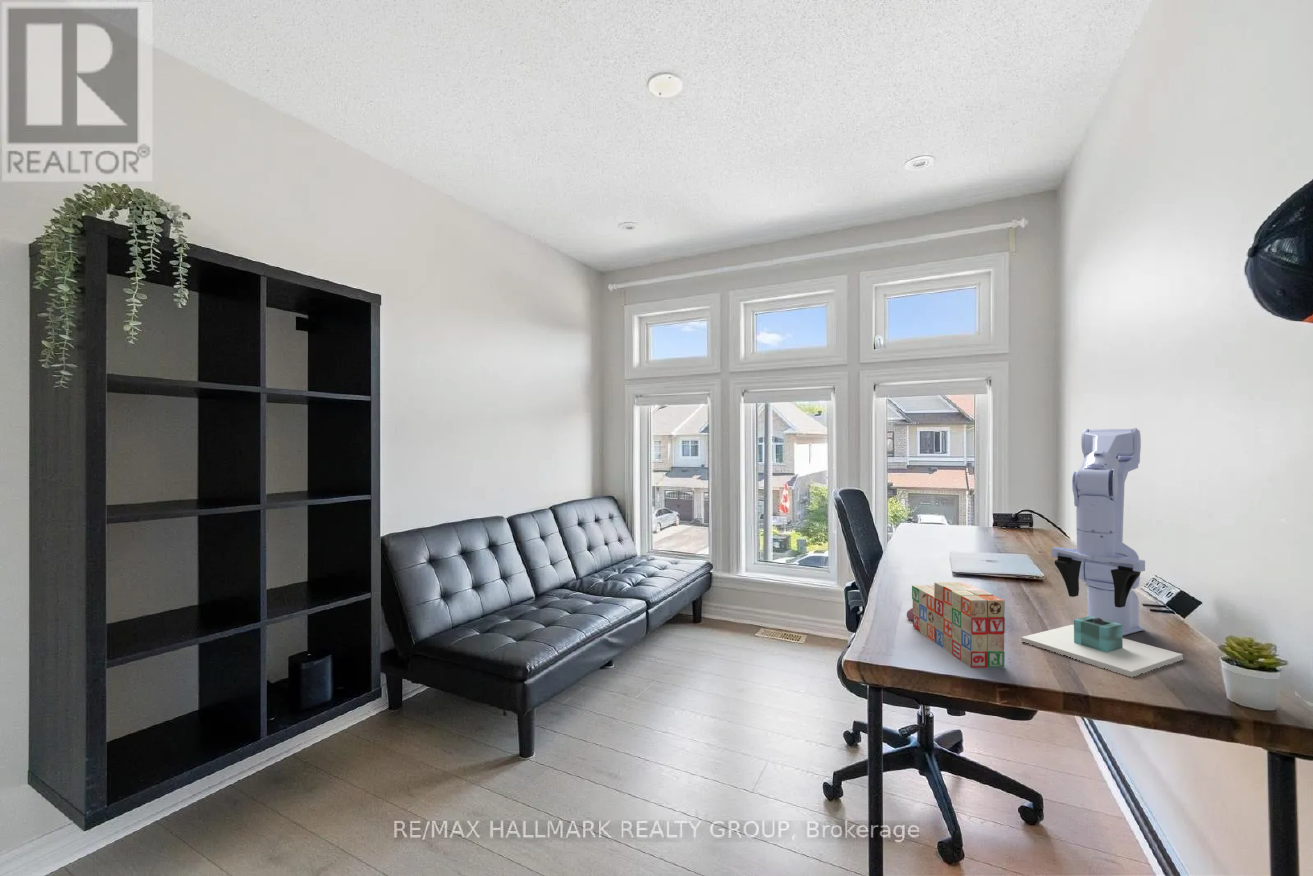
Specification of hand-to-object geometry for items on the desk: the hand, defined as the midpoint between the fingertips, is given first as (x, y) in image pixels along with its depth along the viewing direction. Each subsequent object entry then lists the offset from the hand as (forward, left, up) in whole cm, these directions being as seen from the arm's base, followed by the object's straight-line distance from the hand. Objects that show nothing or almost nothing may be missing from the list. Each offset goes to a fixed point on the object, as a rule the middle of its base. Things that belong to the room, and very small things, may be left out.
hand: (1096, 601), depth 103 cm
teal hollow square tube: (0, 0, -8) cm, 8 cm away
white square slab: (0, 0, -9) cm, 9 cm away
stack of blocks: (+23, -13, -10) cm, 28 cm away
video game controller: (+13, -26, -10) cm, 31 cm away
